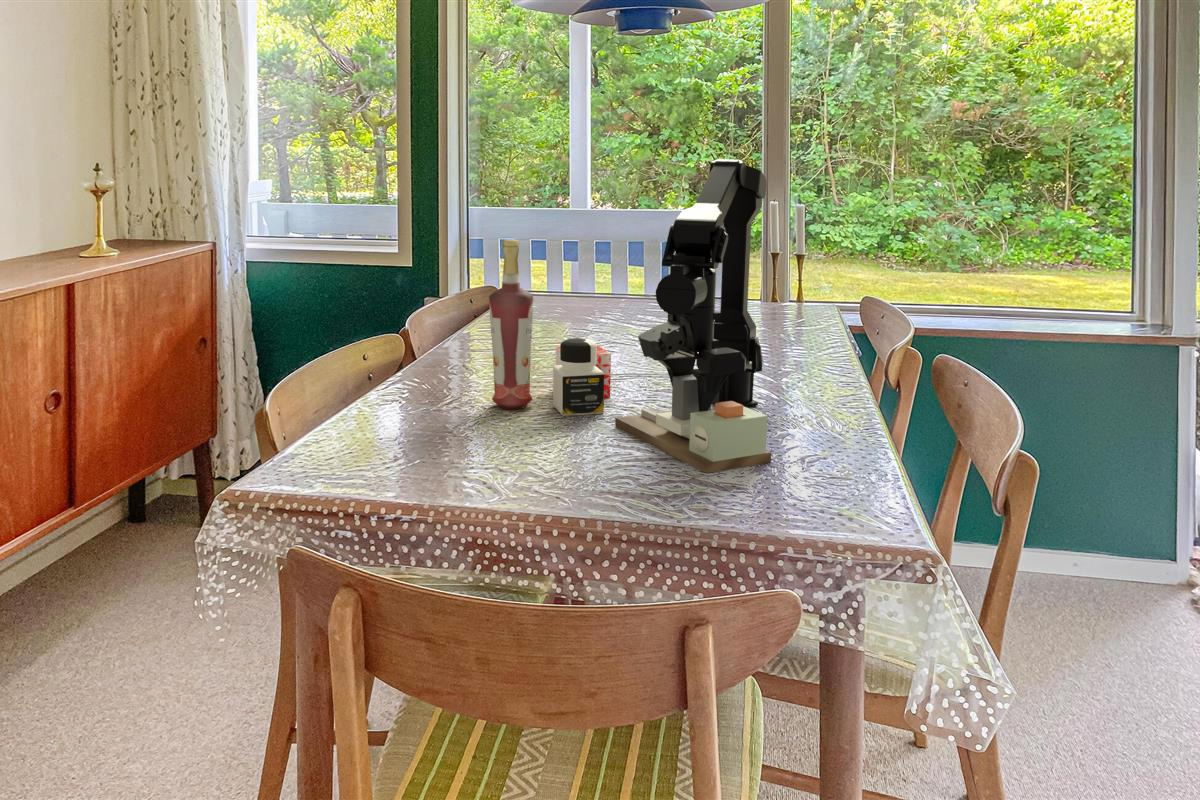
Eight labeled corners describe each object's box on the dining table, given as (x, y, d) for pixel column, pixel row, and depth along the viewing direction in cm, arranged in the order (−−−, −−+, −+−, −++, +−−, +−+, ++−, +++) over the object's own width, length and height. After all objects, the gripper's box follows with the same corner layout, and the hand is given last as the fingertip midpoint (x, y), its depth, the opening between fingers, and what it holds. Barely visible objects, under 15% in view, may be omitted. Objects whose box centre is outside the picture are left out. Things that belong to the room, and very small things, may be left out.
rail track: (673, 418, 172) (674, 404, 171) (770, 462, 150) (771, 445, 149) (615, 426, 167) (615, 411, 166) (706, 473, 145) (707, 455, 144)
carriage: (700, 423, 162) (702, 369, 160) (726, 434, 156) (728, 379, 154) (655, 429, 159) (657, 374, 157) (680, 441, 153) (682, 384, 151)
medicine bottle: (562, 416, 173) (562, 345, 170) (552, 406, 179) (552, 336, 176) (604, 414, 174) (605, 343, 172) (592, 403, 181) (593, 335, 178)
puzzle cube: (555, 390, 191) (555, 347, 189) (597, 387, 193) (597, 345, 191) (567, 400, 183) (567, 356, 181) (610, 397, 186) (610, 353, 184)
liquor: (532, 412, 175) (531, 243, 168) (488, 411, 175) (485, 242, 168) (535, 401, 182) (534, 238, 175) (493, 400, 182) (490, 238, 175)
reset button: (730, 427, 150) (731, 400, 150) (742, 432, 148) (743, 405, 147) (714, 430, 149) (715, 402, 148) (725, 435, 147) (726, 407, 146)
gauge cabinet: (740, 442, 154) (742, 406, 153) (765, 453, 149) (767, 415, 148) (686, 450, 150) (687, 413, 148) (710, 462, 145) (711, 423, 143)
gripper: (615, 299, 157) (614, 400, 161) (682, 318, 141) (679, 430, 145) (678, 294, 162) (675, 392, 166) (750, 313, 146) (745, 421, 150)
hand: (691, 408), depth 157 cm, fingers open, 6 cm apart
